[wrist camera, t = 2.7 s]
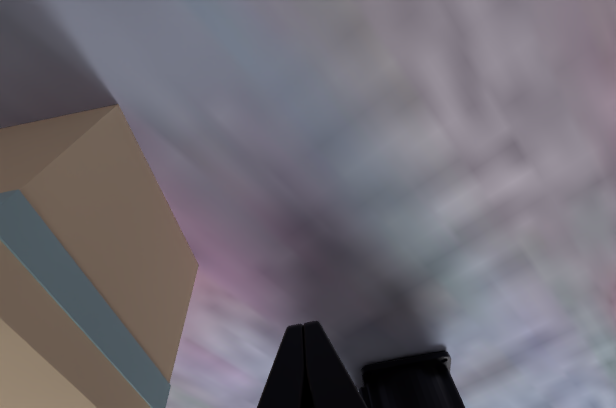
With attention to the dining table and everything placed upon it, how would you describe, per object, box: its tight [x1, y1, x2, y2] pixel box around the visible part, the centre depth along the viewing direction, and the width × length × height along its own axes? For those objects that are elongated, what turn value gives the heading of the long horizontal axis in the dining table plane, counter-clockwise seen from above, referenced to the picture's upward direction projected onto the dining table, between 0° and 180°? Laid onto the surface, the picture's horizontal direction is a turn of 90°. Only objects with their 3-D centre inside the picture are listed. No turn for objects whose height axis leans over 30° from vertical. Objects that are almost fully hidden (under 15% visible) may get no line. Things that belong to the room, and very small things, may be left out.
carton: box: [0, 104, 199, 408], centre depth 13 cm, size 6×9×9 cm
